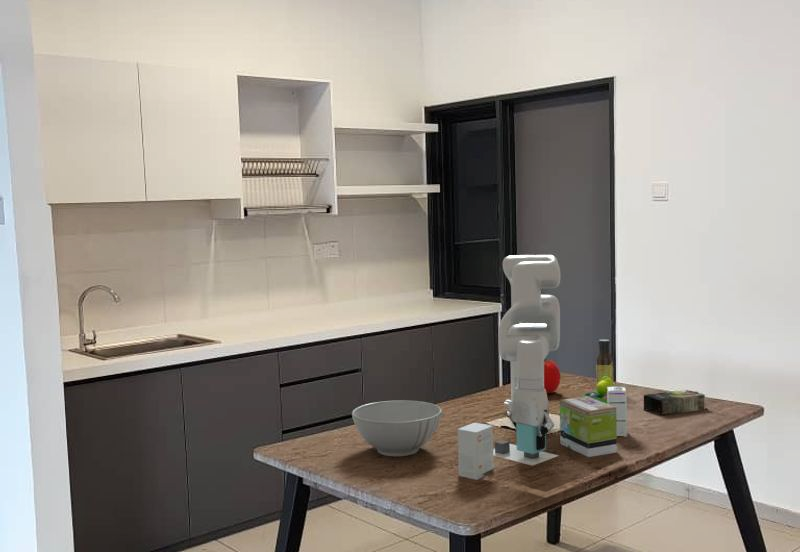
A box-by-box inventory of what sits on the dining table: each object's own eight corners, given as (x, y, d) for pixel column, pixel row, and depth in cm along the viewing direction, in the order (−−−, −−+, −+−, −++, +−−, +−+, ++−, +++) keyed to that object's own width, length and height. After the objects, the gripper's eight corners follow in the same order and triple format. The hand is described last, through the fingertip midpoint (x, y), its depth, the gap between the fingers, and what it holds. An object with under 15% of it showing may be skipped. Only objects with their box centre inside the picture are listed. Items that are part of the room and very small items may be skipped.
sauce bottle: (616, 393, 316) (616, 340, 315) (601, 394, 315) (600, 341, 313) (608, 389, 323) (608, 338, 321) (593, 390, 321) (593, 339, 320)
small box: (475, 468, 232) (474, 422, 231) (494, 472, 228) (493, 425, 227) (457, 476, 226) (456, 428, 225) (477, 480, 222) (476, 432, 221)
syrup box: (627, 437, 258) (627, 390, 257) (607, 436, 259) (607, 390, 258) (626, 432, 263) (626, 386, 262) (607, 431, 265) (606, 386, 263)
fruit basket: (581, 409, 294) (581, 377, 293) (596, 404, 300) (595, 373, 299) (609, 414, 286) (609, 381, 285) (624, 409, 292) (623, 377, 291)
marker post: (524, 456, 237) (523, 434, 236) (530, 454, 239) (530, 432, 238) (532, 459, 235) (532, 436, 234) (539, 456, 237) (538, 434, 236)
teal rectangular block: (516, 450, 237) (516, 423, 236) (529, 445, 241) (529, 419, 240) (533, 454, 232) (532, 426, 232) (546, 449, 236) (545, 422, 236)
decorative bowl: (451, 460, 240) (450, 418, 239) (358, 467, 236) (357, 425, 234) (432, 435, 266) (431, 397, 265) (348, 441, 262) (347, 403, 261)
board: (482, 456, 242) (482, 442, 242) (509, 447, 250) (509, 433, 250) (532, 469, 229) (532, 454, 229) (559, 459, 237) (558, 445, 237)
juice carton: (688, 403, 298) (688, 386, 298) (708, 409, 289) (708, 392, 289) (642, 411, 290) (642, 393, 290) (661, 417, 281) (661, 399, 281)
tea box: (558, 447, 249) (558, 398, 248) (587, 443, 253) (587, 395, 251) (588, 461, 235) (587, 409, 234) (618, 456, 239) (617, 405, 238)
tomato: (564, 390, 323) (563, 356, 322) (556, 397, 312) (555, 362, 310) (534, 388, 327) (534, 355, 326) (526, 395, 316) (525, 361, 315)
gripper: (498, 381, 239) (499, 444, 240) (547, 390, 226) (548, 456, 228) (514, 377, 244) (515, 438, 245) (563, 385, 231) (564, 449, 233)
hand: (531, 446), depth 237 cm, fingers closed on teal rectangular block, 5 cm apart
